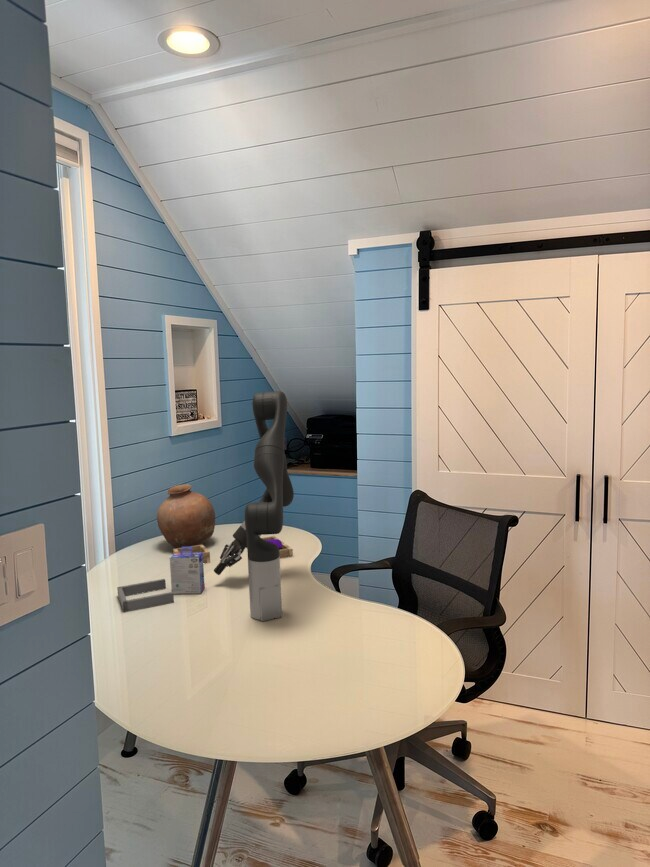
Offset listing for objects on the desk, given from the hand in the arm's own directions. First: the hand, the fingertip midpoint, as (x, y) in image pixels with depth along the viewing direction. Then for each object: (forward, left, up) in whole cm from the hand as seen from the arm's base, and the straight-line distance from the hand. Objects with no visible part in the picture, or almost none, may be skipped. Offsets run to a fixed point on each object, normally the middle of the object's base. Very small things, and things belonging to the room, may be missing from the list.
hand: (216, 573), depth 199 cm
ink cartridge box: (0, +9, -4) cm, 10 cm away
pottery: (+50, -2, -4) cm, 50 cm away
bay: (0, +23, -4) cm, 24 cm away
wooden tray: (+30, +1, -4) cm, 30 cm away
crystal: (+26, -29, -5) cm, 39 cm away
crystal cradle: (+25, -29, -4) cm, 38 cm away
